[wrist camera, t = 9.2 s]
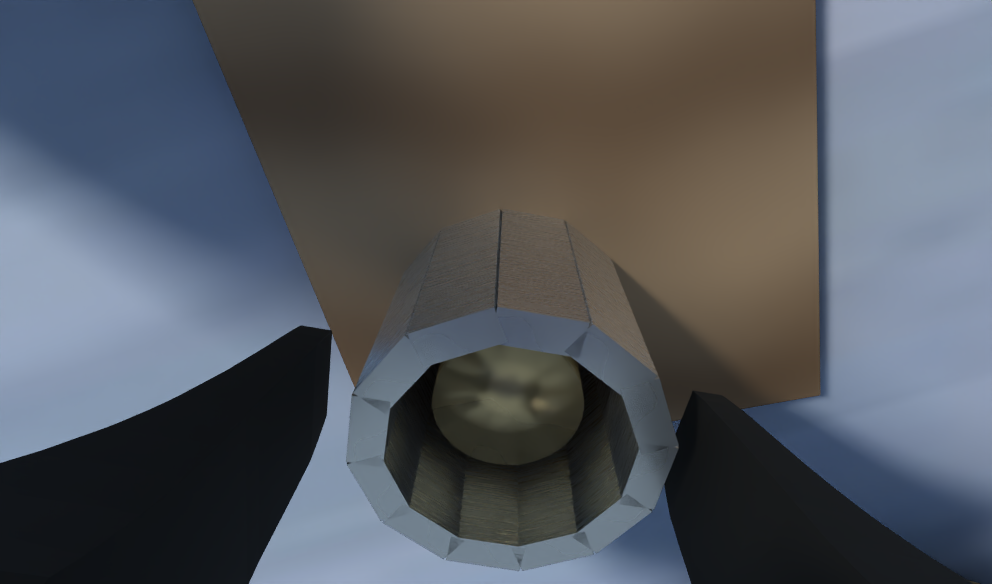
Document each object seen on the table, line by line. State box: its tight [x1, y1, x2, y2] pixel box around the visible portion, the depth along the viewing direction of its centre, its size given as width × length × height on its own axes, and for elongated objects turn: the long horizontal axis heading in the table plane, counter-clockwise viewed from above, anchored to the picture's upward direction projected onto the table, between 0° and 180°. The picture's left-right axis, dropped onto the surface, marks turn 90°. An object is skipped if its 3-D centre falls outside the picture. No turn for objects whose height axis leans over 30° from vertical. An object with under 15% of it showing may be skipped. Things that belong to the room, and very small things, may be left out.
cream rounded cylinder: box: [432, 345, 584, 465], centre depth 13 cm, size 3×3×4 cm
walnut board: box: [192, 0, 820, 421], centre depth 13 cm, size 19×12×1 cm, turn 14°
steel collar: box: [346, 209, 679, 571], centre depth 12 cm, size 6×6×5 cm
